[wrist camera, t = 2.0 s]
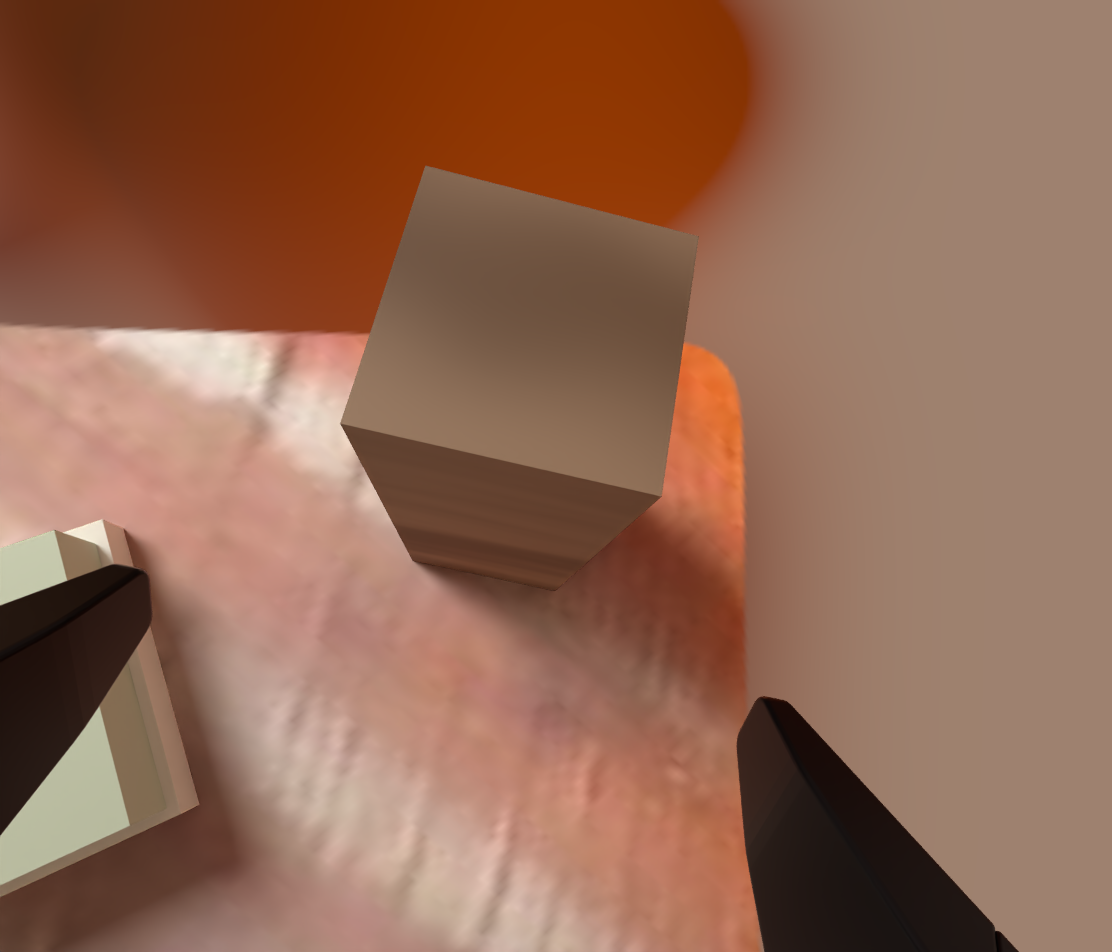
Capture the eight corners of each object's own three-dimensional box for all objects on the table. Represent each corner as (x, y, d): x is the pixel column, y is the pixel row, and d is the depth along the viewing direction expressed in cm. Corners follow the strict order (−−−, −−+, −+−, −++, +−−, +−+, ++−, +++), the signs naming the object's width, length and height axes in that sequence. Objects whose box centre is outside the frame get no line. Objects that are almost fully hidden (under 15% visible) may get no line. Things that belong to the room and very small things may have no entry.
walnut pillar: (555, 590, 21) (661, 495, 10) (412, 560, 21) (340, 423, 9) (580, 458, 23) (698, 236, 11) (448, 427, 23) (425, 165, 11)
